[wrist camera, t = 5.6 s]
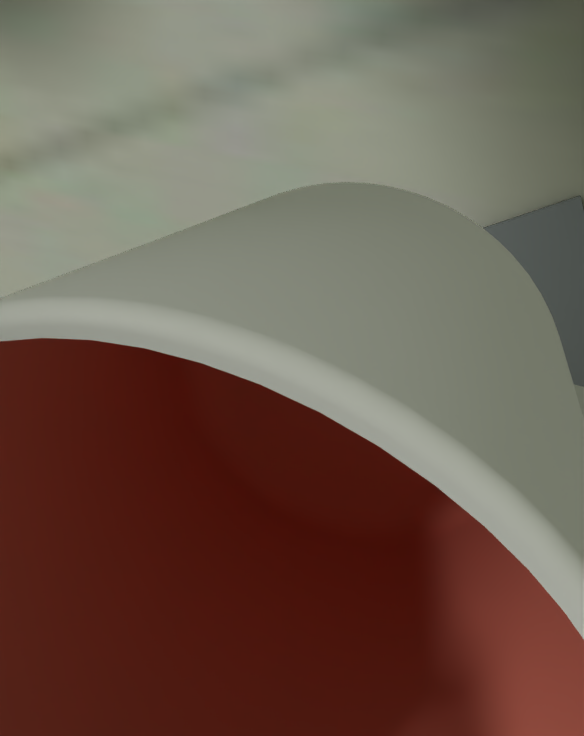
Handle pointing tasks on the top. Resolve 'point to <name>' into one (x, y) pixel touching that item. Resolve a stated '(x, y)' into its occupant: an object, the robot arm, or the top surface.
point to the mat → (554, 268)
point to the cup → (292, 483)
